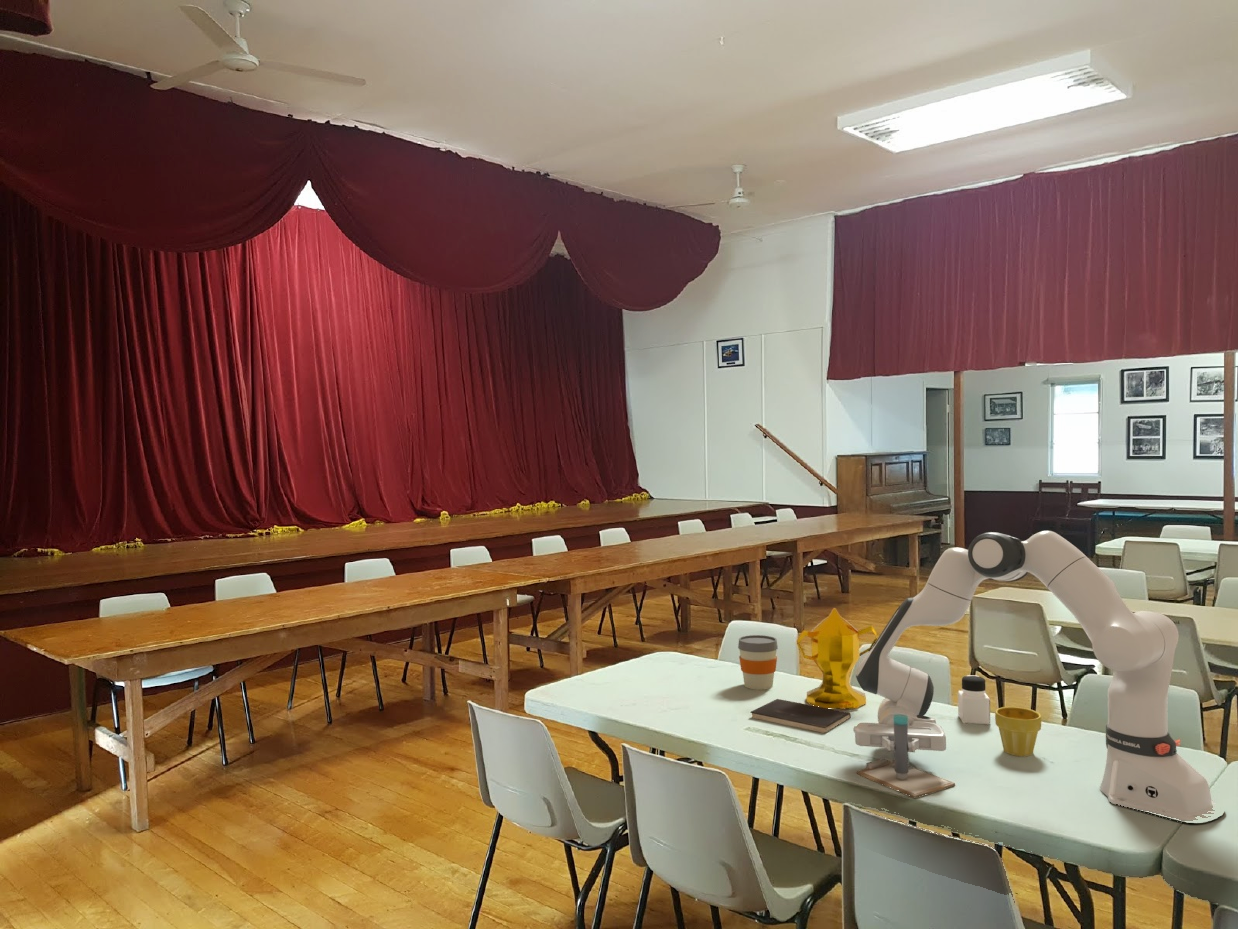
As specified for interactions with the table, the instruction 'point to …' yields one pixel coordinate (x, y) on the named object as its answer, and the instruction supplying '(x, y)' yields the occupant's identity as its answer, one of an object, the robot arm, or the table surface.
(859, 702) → the trophy cup
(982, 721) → the medicine bottle
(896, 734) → the marker
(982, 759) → the table surface
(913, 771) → the clipboard
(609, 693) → the table surface
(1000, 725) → the plant pot
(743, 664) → the reusable coffee cup
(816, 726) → the hardcover book
